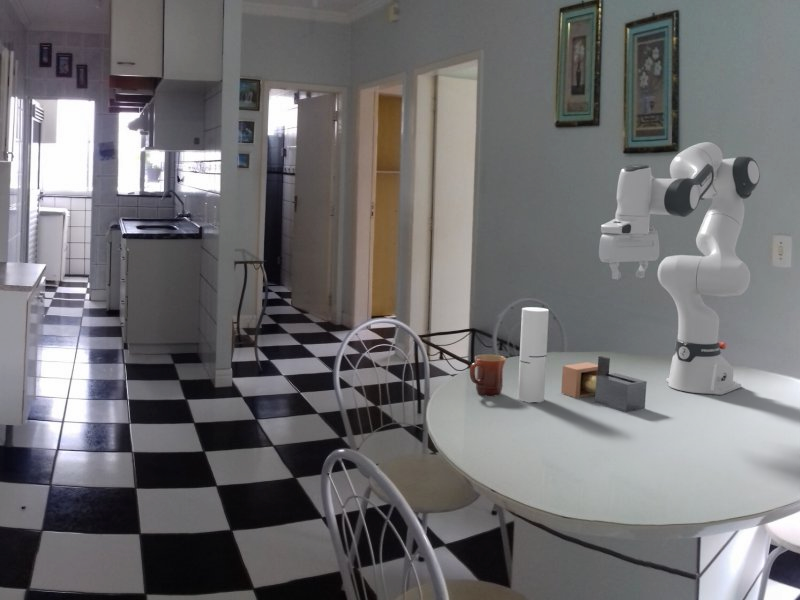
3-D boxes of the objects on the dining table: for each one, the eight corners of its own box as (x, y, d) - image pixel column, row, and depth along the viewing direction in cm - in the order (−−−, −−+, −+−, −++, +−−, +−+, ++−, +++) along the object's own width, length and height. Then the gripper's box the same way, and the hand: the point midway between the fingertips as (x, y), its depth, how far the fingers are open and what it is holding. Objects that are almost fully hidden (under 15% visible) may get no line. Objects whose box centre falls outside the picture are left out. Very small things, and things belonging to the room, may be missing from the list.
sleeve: (613, 398, 222) (615, 372, 221) (644, 408, 213) (646, 381, 212) (594, 402, 218) (596, 375, 217) (625, 412, 209) (627, 384, 208)
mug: (487, 388, 231) (489, 353, 229) (511, 394, 224) (512, 358, 223) (458, 394, 223) (459, 358, 222) (481, 401, 217) (483, 364, 215)
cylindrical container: (543, 403, 216) (548, 312, 212) (516, 401, 217) (521, 310, 214) (544, 396, 223) (549, 308, 219) (518, 394, 224) (522, 306, 221)
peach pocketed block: (586, 389, 232) (587, 362, 231) (600, 393, 228) (601, 365, 227) (561, 393, 227) (562, 365, 226) (575, 397, 222) (576, 369, 221)
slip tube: (583, 387, 230) (586, 350, 228) (616, 397, 220) (618, 358, 218) (571, 389, 227) (573, 352, 225) (603, 399, 217) (606, 360, 216)
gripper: (648, 225, 221) (644, 275, 223) (596, 226, 210) (593, 278, 212) (667, 226, 216) (663, 277, 218) (615, 227, 204) (611, 281, 206)
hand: (628, 278), depth 215 cm, fingers open, 8 cm apart
